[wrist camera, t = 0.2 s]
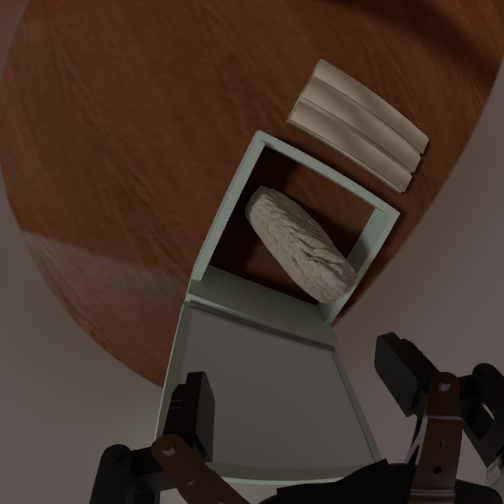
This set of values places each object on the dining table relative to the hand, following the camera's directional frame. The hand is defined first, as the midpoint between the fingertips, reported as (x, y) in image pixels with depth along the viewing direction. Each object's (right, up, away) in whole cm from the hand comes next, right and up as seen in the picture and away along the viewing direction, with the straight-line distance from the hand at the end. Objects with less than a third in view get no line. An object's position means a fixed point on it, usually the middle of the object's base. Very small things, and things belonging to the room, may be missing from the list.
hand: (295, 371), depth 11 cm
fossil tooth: (+3, +8, +22) cm, 24 cm away
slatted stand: (+11, +20, +17) cm, 29 cm away
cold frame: (+3, +7, +22) cm, 24 cm away
